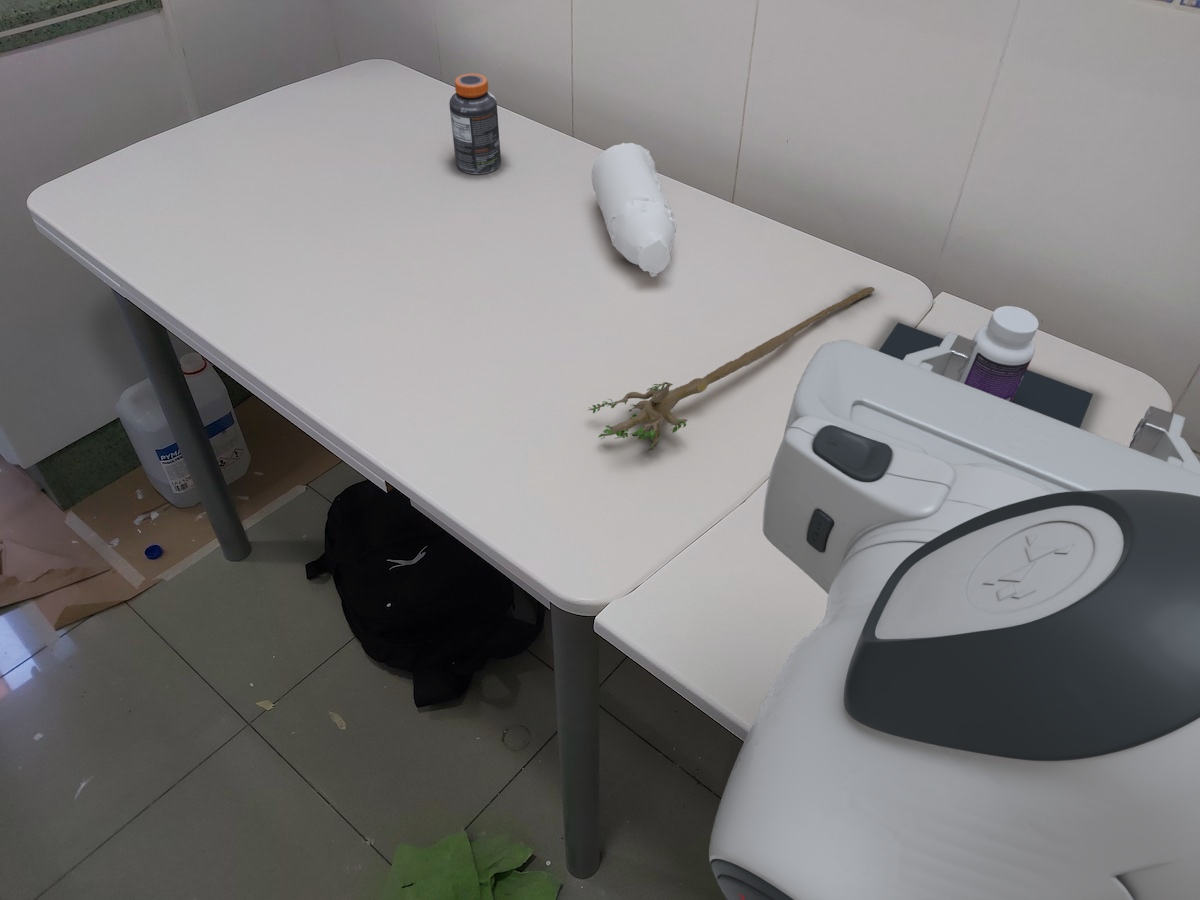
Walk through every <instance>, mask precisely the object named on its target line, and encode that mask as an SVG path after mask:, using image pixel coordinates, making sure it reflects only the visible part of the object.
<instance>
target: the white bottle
mask: <svg viewBox="0 0 1200 900" xmlns="http://www.w3.org/2000/svg"><path fill="white" fill-rule="evenodd" d="M650 152H651V151H650V150H648V149H647V148H644V147H643V146H642V145H641V144H637V143H634V142H629V143H625V142H624V141H623V142H622V143H620V144H614V145H612V146H610V147H609V148H607V149H605V150H604V151H602V153H601V154H599V156H598V157H597V159H596V160H594V162H593V164H592V167H591V184H592V189H593V191H594V194H595V197H596V200H597V203H598V205H599V208H600V210H601V214H602V216H603V219H604V223H605V226H606V230H607V232H608V234H609V237H610V240H611V243H612V246H613V247H614V248H615V249H616V250H617V251H618V253H620V254H621V255H622V256H623V257H624V258H625V259H626V260H627V261H628V262H630V263H631V264H634V265H637V266H639V268H640V269H641V270H642V271H643V272H648V273H649V275H650V277H651V278H655V277H657V275H658V274H659V273H661V272H662V271H664V270H665V269H666V268H667V266H668V265H669V264H670V262H671V260H672V258H671V257H672V256H671V251H672V249H673V247H674V243H675V239H676V233H677V226H678V225H677V224H678V223H677V222H676V221H675V220H676V219H675V214H674V212H673V211H672V210H673V209H672V208H671V207H670V203H669V202H668V200H667V198H666V196H665V195H664V192H663V188H662V180H661V179H660V177H659V174H658V173H657V172H658V170H656V162H655V161H654V159H653V157H652V156H651V154H650Z"/></svg>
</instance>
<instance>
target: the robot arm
mask: <svg viewBox="0 0 1200 900" xmlns="http://www.w3.org/2000/svg"><path fill="white" fill-rule="evenodd" d="M943 339H944V340H943V341H942V343H941V344H940V346H939V347H938V346H935V347H932V348H928V349H925V350H921V351H918V352H914V353H911V354H907V355H906V356H905V358H904V359H903V361H902V360H900V359H897V358H895V357H892V356H889V355H887V354H884V353H882V352H879V350H876V349H873V348H871V347H869V346H866V345H863V344H861V343H859V342H856V341H853V340H850V339H839V340H835V341H830V342H825V343H823V344H821V345H820V346H819V347H818V348H817V350H816V351H815V352H814V354H813V355H812V357H811V359H810V360H809V362H808V364H807V365H806V367H805V369H804V371H803V373H802V374H801V377H800V379H799V381H798V383H797V386H796V389H795V391H794V394H793V398H792V401H791V405H790V410H789V413H788V417H787V420H786V425H785V428H784V433H783V437H782V439H781V442H780V445H779V446H778V449H777V452H776V455H775V456H774V460H773V462H772V466H771V469H770V473H769V476H768V480H767V485H766V490H765V495H764V502H763V511H762V529H761V530H762V533H763V535H764V537H765V538H766V540H767V541H768V542H769V543H770V544H772V546H773V547H775V549H777V550H778V551H779V552H780V553H782V554H783V555H784V556H785V557H786V558H788V560H790V561H791V562H792V563H793V564H795V565H796V566H797V567H798V568H799V569H800V570H802V571H803V573H805V574H806V575H807V576H808V577H809V578H810V579H811V580H812V581H813V582H815V584H817V585H818V586H819V587H820V588H821V589H822V590H823V591H824V592H825V593H826V594H827V595H828V596H827V601H826V609H825V614H824V617H823V619H822V620H821V622H820V623H819V624H818V625H817V627H816V628H814V629H813V630H812V631H811V632H810V633H808V634H807V635H805V637H803V639H801V641H800V642H799V643H798V644H797V645H796V646H795V647H794V648H793V649H792V650H791V652H790V654H789V655H788V658H787V659H786V661H785V663H784V664H783V666H782V668H781V669H780V671H779V673H778V674H777V676H776V678H775V680H774V682H773V683H772V686H771V687H770V688H769V691H768V693H767V695H766V696H765V699H764V700H763V702H762V704H761V706H760V708H759V710H758V712H757V714H756V716H755V718H754V721H752V722H753V723H752V724H751V726H750V729H749V731H748V732H747V735H746V737H745V739H744V741H743V744H742V746H741V748H740V751H739V753H738V755H737V757H736V759H735V762H734V764H733V767H732V769H731V772H730V774H729V776H728V779H727V782H726V785H725V787H724V790H723V793H722V795H721V799H720V801H719V804H718V808H717V811H716V814H715V817H714V818H715V819H714V822H713V825H712V829H711V834H710V839H709V840H710V841H709V846H708V860H709V861H708V862H709V865H710V866H709V867H710V869H711V871H712V873H713V875H714V877H715V879H716V882H717V884H718V886H719V888H720V891H721V894H722V895H723V897H724V898H725V900H1200V460H1199V459H1198V458H1197V456H1196V454H1195V453H1194V452H1193V450H1192V448H1191V447H1190V445H1189V444H1188V442H1187V441H1186V439H1185V438H1184V437H1183V436H1182V432H1183V429H1184V426H1185V421H1186V417H1185V416H1183V415H1180V414H1177V413H1173V412H1171V411H1168V410H1164V409H1162V408H1158V407H1156V406H1153V405H1149V407H1148V408H1147V410H1146V411H1145V413H1144V417H1143V418H1141V419H1140V421H1138V424H1137V426H1136V427H1135V430H1134V431H1133V434H1132V439H1131V441H1130V443H1129V446H1127V445H1124V444H1121V443H1118V442H1116V441H1113V440H1111V439H1108V438H1105V437H1103V436H1100V435H1098V434H1095V433H1092V432H1090V431H1087V430H1085V429H1082V428H1081V427H1080V428H1077V427H1074V426H1072V425H1069V424H1067V423H1064V422H1061V421H1059V420H1056V419H1054V418H1051V417H1048V416H1046V415H1043V414H1041V413H1038V412H1035V411H1033V410H1030V409H1028V408H1025V407H1022V406H1020V405H1017V404H1015V403H1012V402H1009V401H1007V400H1004V399H1002V398H999V397H996V396H994V395H991V394H989V393H986V392H983V391H981V390H978V389H976V388H973V387H970V386H968V385H965V384H962V383H960V382H959V381H960V379H961V377H962V374H963V373H964V372H965V370H966V368H967V366H968V364H969V361H970V359H971V357H972V353H973V352H974V350H975V347H976V345H977V342H975V341H973V339H970V338H967V337H965V336H963V335H960V334H958V333H954V332H951V331H948V332H947V333H946V335H945V336H944V338H943Z"/></svg>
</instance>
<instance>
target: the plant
mask: <svg viewBox="0 0 1200 900" xmlns="http://www.w3.org/2000/svg"><path fill="white" fill-rule="evenodd" d="M873 292H875V288H874V287H873V286H868V287H867V286H866V287H865V288H862V289H861V290H859V291H857V292H856V293H854V294H851V295H850V296H848V297H847V298H844V299H842V300H841V301H839V302H836V303H833V304H832V305H831V306H830V305H829V306H828V307H826V308H825V309H822V310H821V311H819V312H818V313H816V314H814V315H812V316H810V317H808V318H807V319H805V320H803V321H801V322H800V323H798V324H796V325H794V326H792V327H790V328H789V329H787V330H785V331H784V332H782V333H780V334H778V335H775V336H774V337H772V338H770V339H768V340H767V341H765V342H763V343H761V344H759V345H758V346H756V347H755V348H753V349H751V350H749V351H746V352H745V353H742V355H741V356H739V357H738V358H735V359H734V360H730V361H728V362H726V363H724V364H723V365H721V366H719V367H718V368H716V369H715V370H713V371H711V372H709V373H707V374H706V375H705V376H703V377H697V378H693V379H691V381H689V382H687V383H686V384H683V385H680V386H678V387H675V388H674V389H671V390H670V387H671V386H673V385H674V383H671V382H667V381H664V382H662V383H654V384H652V385H650V386H652V387H648V388H647V389H646V393H641V392H638V391H631V392H627V393H626V394H625V396H624V397H623V398H621V399H619V400H616V401H613V400H612V399H611V398H608V400H609V401H610V402H608V401H602V404H600V403H597V404H596V405H595V404H593V405H592V407H593V408H592V407H589V406H588V409H587V410H585V411H592V415H594V414H596V413H597V412H598V411H600V410H601V408H602V407H603V408H604V407H605V406H607V407H609V406H610V409H614V408H615V406H617V404H620V403H621V404H622V403H624V405H627V402H629V399H630V400H631V399H641V400H640V401H639V402H637V403H636V404H634V403H633V404H630V405H629V406H632V408H630V409H629V410H628V412H629V413H631V412H632V411H633V410H635V409H636V410H637V409H638V410H640V411H639V413H638V414H637V413H634V414H632V415H631V417H629V419H628V420H625V421H622V422H620V423H617V424H615V425H613V426H611V425H610V424H607V425H605V427H604V428H605V429H604V430H603V431H602V433H600V434H599V435H598V438H600V440H603V439H604V438H606V437H607V436H613V435H614V436H615V435H616V436H617V437H615V438H613V439H614V440H616V439H621V438H622V439H625V438H628V437H629V438H630V437H634V438H635V437H637V438H636V439H637V440H647V439H648V438H650V440H651V441H652V442H651V444H650V445H649V446H648V447H647V448H646V449H645V450H646V451H647V450H648V449H650V448H651V449H652V450H653V449H654V448H655V446H656V444H657V442H658V440H659V439H660V438H661V435H662V434H661V427H662V422H663V419H665V420H666V422H667V423H669V424H670V427H671V426H674V427H673V428H671V429H669V431H670V432H671V431H672V434H674V433H675V432H677V431H678V430H680V429H681V428H682V426H683V428H685V427H686V426H687V422H689V421H688V419H687V418H683V419H682V418H681V419H680V418H677V417H676V416H675V414H673V412H672V410H673V409H674V408H675V407H676V405H677V404H678V403H679V402H680V401H681V400H683V399H685V398H688V397H689V396H693V395H697V394H700V393H703V392H704V391H706V389H707V388H708V386H709V385H711V384H713V383H715V382H718V381H720V380H721V379H724V378H726V377H727V376H729V375H731V374H733V373H736V372H738V371H739V370H740V369H742V368H743V367H747V366H749V365H751V364H752V363H754V362H756V361H758V360H761V359H762V358H764V357H765V356H767V355H769V354H772V353H773V352H774V351H775V350H777V349H778V348H780V347H781V346H783V345H785V344H786V343H787V342H789V341H790V340H791V339H792V338H794V336H795V335H796V334H798V333H799V332H801V331H803V330H804V329H806V328H809V326H811V324H814V323H816V322H818V321H819V320H821V319H824V318H826V316H828V314H829V313H831V312H833V311H835V310H837V309H839V310H840V309H842V308H844V307H846V306H849V305H851V304H853V303H854V302H856V301H858V300H860V299H862V298H864V297H867V296H868V295H871V294H872V293H873ZM660 387H661V388H660ZM641 423H645V424H644V425H643V427H642V426H641V427H639V428H638V429H637V431H634V432H631V433H630V434H629V433H628V432H629V430H631V429H632V428H635V426H637V425H639V424H641ZM649 429H650V430H649ZM647 430H648V431H647ZM644 431H645V432H644ZM629 435H630V436H629Z"/></svg>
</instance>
